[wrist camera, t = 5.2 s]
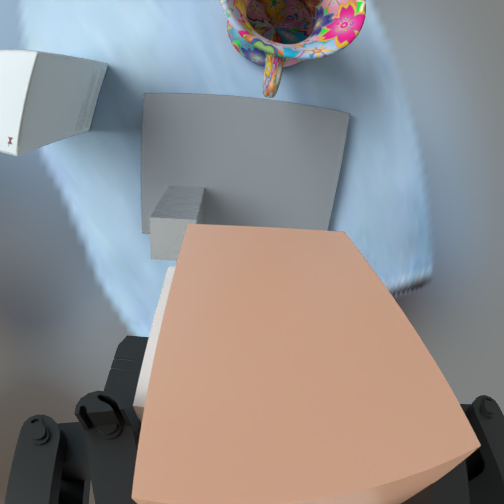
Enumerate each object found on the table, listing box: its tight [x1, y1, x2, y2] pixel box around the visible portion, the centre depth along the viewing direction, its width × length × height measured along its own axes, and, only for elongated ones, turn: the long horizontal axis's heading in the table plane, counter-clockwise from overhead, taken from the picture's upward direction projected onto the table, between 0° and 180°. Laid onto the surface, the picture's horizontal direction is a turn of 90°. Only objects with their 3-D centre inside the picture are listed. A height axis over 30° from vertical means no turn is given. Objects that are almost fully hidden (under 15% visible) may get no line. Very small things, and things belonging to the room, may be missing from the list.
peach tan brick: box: [132, 224, 481, 504], centre depth 9 cm, size 6×6×10 cm
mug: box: [221, 0, 366, 98], centre depth 19 cm, size 12×9×11 cm
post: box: [150, 186, 204, 261], centre depth 25 cm, size 3×3×8 cm
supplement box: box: [0, 49, 108, 156], centre depth 18 cm, size 7×7×13 cm
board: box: [141, 93, 350, 234], centre depth 28 cm, size 14×19×2 cm
